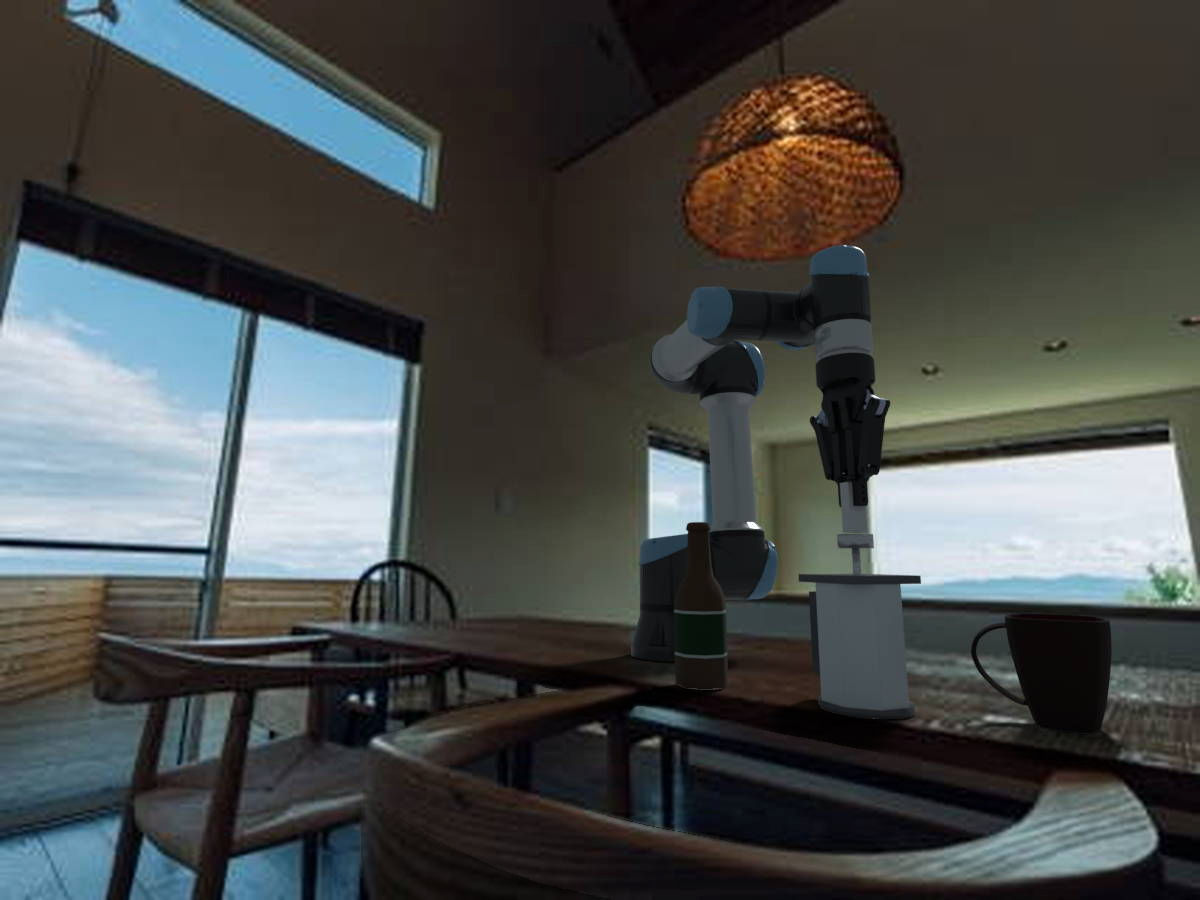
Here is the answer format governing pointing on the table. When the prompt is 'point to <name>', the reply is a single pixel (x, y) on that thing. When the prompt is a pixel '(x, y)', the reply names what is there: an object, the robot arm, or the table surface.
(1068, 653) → the cup
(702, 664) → the beer bottle
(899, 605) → the grey capped canister
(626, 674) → the table surface
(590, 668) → the table surface
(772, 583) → the robot arm
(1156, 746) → the table surface
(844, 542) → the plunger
